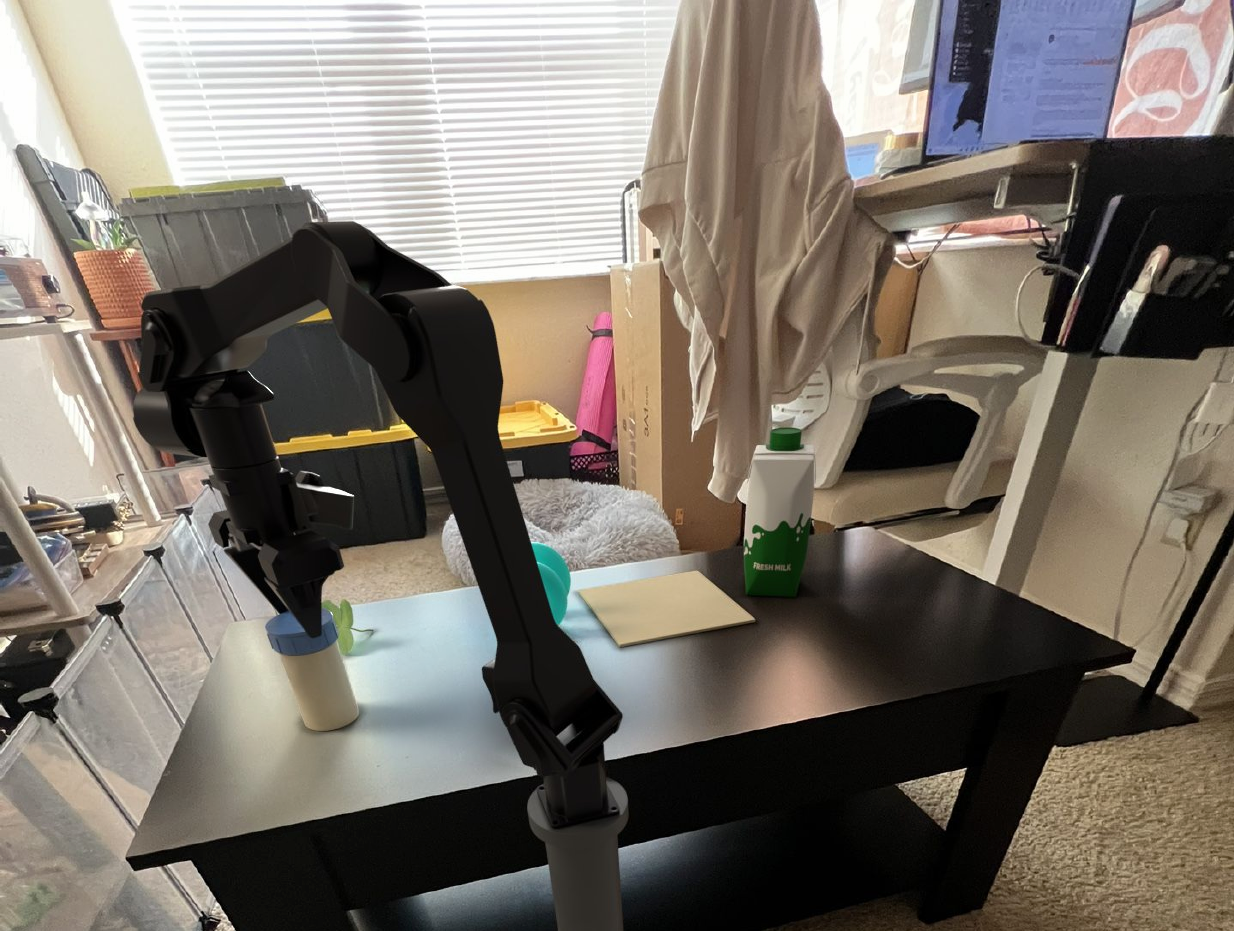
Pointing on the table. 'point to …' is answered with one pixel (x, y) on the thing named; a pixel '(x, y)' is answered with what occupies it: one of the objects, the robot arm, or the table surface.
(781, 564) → the milk carton
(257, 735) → the table surface
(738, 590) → the table surface
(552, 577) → the turquoise spool
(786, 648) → the table surface
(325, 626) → the lid
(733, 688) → the table surface
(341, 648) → the green clover
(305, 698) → the jar
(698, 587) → the placemat
